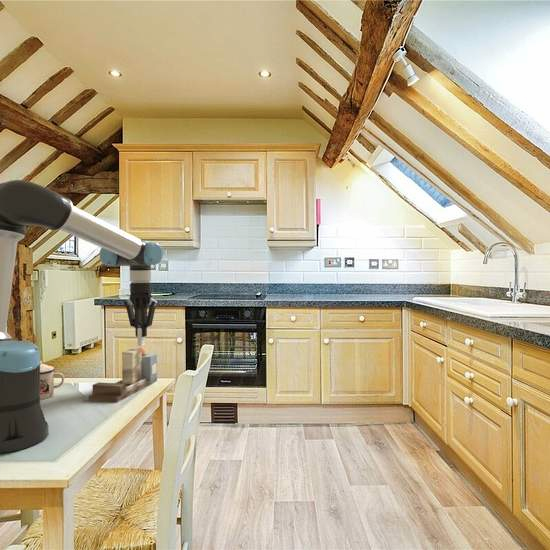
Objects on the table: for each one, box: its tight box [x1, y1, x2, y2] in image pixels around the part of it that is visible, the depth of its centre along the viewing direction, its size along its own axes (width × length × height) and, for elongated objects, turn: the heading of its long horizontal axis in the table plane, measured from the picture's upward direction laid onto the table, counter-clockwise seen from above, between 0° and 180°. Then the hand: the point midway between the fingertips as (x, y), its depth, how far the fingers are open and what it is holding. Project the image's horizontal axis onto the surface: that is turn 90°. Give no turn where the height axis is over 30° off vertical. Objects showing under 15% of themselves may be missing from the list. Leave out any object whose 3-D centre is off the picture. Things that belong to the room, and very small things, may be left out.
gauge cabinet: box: [142, 353, 158, 385], centre depth 150 cm, size 5×10×10 cm, turn 79°
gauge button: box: [136, 347, 146, 356], centre depth 150 cm, size 3×3×4 cm
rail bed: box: [88, 378, 158, 403], centre depth 139 cm, size 26×10×4 cm, turn 169°
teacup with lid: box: [40, 360, 65, 401], centre depth 133 cm, size 12×9×12 cm
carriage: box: [121, 348, 142, 384], centre depth 143 cm, size 6×4×11 cm, turn 169°
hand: (141, 345), depth 150 cm, fingers closed
